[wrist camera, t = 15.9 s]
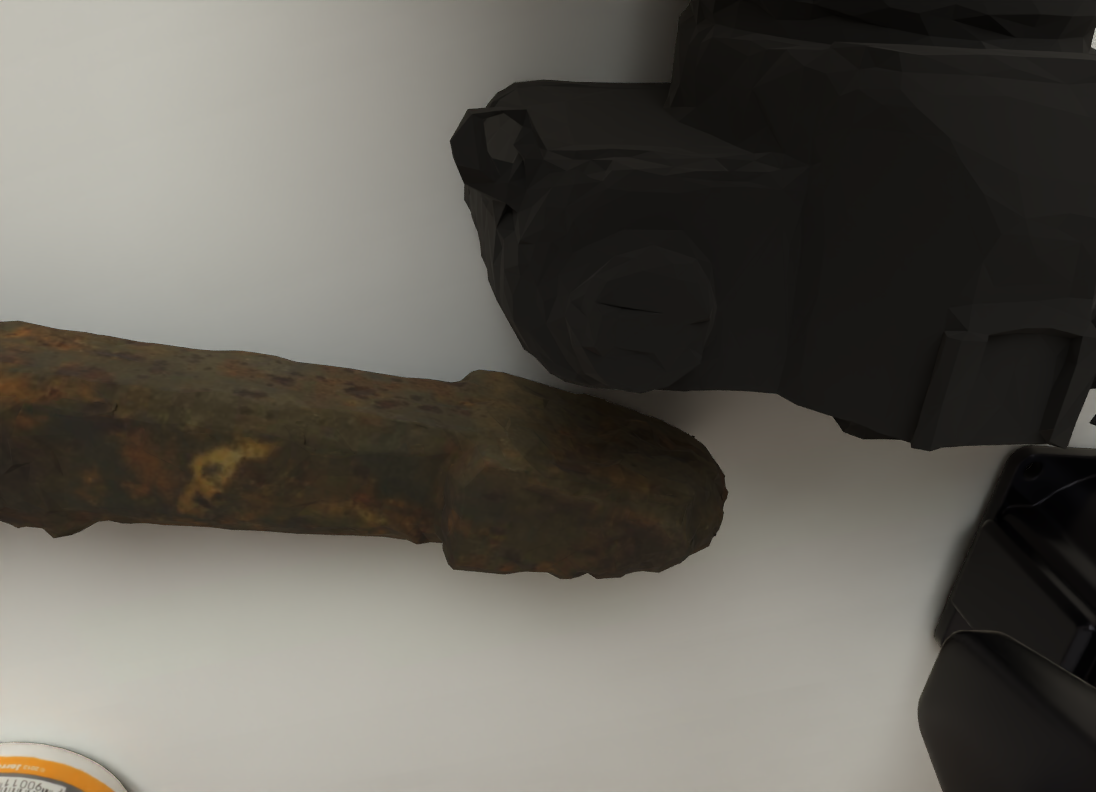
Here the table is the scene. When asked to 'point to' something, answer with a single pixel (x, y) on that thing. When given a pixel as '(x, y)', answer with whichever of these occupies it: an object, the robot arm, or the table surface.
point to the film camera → (815, 215)
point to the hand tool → (345, 456)
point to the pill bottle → (51, 770)
